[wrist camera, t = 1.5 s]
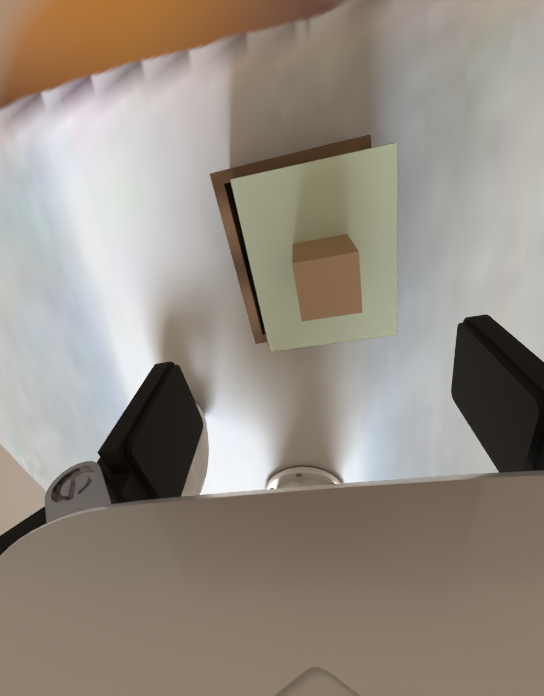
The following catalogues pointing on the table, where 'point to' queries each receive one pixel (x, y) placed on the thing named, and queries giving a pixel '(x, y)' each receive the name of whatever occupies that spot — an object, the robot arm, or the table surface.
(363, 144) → the box
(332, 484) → the robot arm
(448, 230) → the table surface
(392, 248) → the lid
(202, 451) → the toy
